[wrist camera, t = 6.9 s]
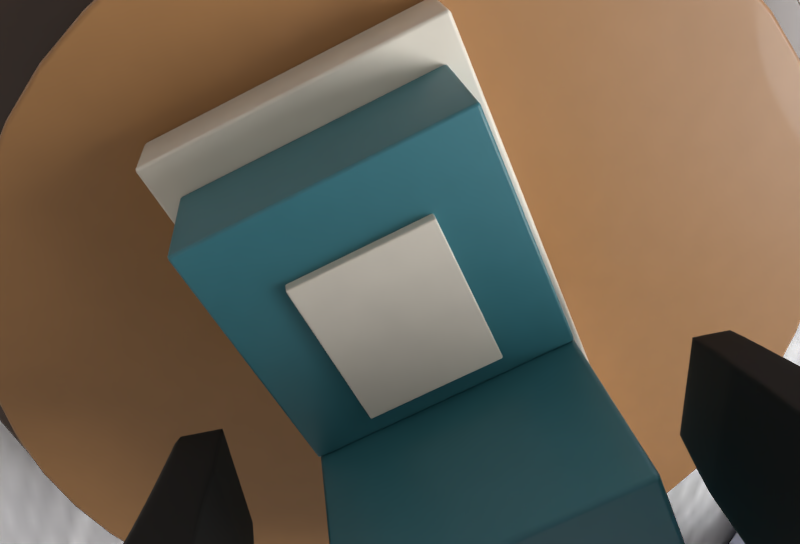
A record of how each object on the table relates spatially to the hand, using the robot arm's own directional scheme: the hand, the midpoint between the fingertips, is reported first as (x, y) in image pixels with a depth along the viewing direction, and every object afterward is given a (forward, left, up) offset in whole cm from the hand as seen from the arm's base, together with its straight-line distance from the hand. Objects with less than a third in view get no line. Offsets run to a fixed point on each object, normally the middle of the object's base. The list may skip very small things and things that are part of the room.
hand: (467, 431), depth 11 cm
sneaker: (0, 0, -4) cm, 3 cm away
